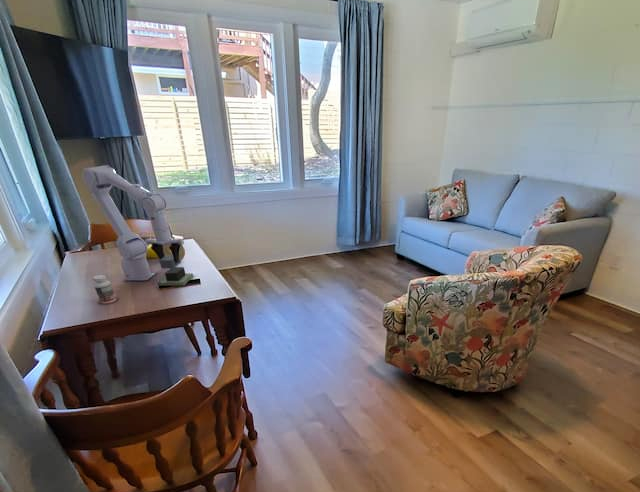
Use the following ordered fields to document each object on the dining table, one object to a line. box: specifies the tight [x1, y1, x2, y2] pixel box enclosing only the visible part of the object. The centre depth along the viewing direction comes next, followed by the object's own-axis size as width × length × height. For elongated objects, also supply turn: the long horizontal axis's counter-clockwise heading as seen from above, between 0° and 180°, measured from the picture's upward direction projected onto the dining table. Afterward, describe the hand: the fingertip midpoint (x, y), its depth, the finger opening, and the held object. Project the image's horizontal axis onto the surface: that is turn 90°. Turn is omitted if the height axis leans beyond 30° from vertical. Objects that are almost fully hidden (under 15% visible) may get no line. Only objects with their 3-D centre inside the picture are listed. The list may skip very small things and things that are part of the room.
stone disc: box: [163, 244, 186, 261], centre depth 185 cm, size 10×4×10 cm, turn 119°
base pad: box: [158, 272, 194, 287], centre depth 167 cm, size 10×10×1 cm
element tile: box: [144, 241, 172, 260], centre depth 197 cm, size 15×15×5 cm
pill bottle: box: [92, 274, 117, 304], centre depth 148 cm, size 5×5×10 cm
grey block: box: [158, 254, 182, 269], centre depth 161 cm, size 5×7×3 cm
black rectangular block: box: [164, 266, 186, 281], centre depth 166 cm, size 5×7×3 cm
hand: (170, 262), depth 161 cm, fingers closed on grey block, 5 cm apart
